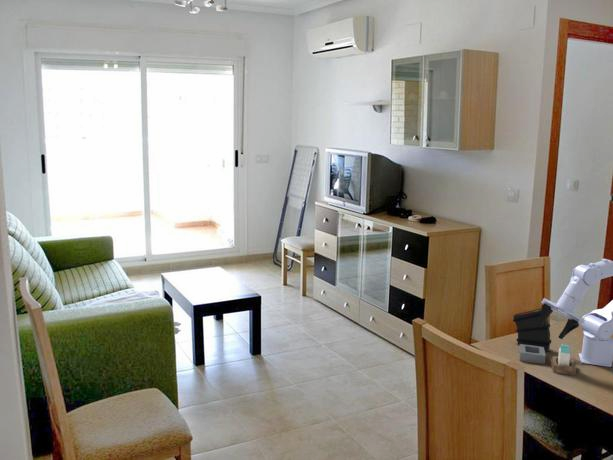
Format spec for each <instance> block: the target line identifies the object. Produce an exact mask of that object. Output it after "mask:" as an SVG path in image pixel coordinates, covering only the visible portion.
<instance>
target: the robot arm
mask: <svg viewBox="0 0 613 460" xmlns="http://www.w3.org/2000/svg"><path fill="white" fill-rule="evenodd" d="M610 277H613V260H611V259H607V258H602V259H601V260H600V261H597V262H591V263H588V264H587V265H586V264H579V265H577V266H575V268H573V269H572V272H571V278H570V279H569V280H570V281H569V283H568V284H567V286H566V288H565V290H564V291H563V293H562V295H561V296H560V298H559V299H558V300H557V302H556V303H555V302H552V301H550V300H549V299H547V298H545V297H544V298H543V299H542V301H541V302H540V303H541V304H542V305H541V308H542V309H541V317H540V321H539V324H538V326H540V327H542V326H543V324H544V323H545V321H546V319H549V317H550V315H551V314H553V312H554V311H555V312H557V313H559V314H561V315H562V316H564V317H566V318H567V321H566V323H565V326H564V327H563V329H562V330H561V332H560V333H559V335H558V337H557V338H558V339H560V340H563V339H564V338H565V337H566V336H567V335H568V334H569V333H570V332H572V331H573V330H575V329H577V328H579V326H580V328H581V329H582V333H583V339H582V340H583V341H582V348H581V352H579V353H578V356H579V360H580V362H581V364H586V365H587V364H588V365H594V366H595V365H596V366H601V367H608V368H612V367H613V338H612V335H613V299H612V300H611V301H610V302H609V303H608V304H606V305H605V306H604V307H603V308H598V309H594V310H592V311H591V312H589V313H586V314H584V315H583V316H582V317H580V316H578V315H577V314H574V312H575V310H576V309H577V307H578V305H579V304H580V302H581V300H583V297H584V295H585V294H586V293H587V291H588V290H589V288H590V286H595V285H596V284H597V283H598V282H599V281H600V280H603V279H606V278H610ZM611 366H612V367H611Z"/></svg>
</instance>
